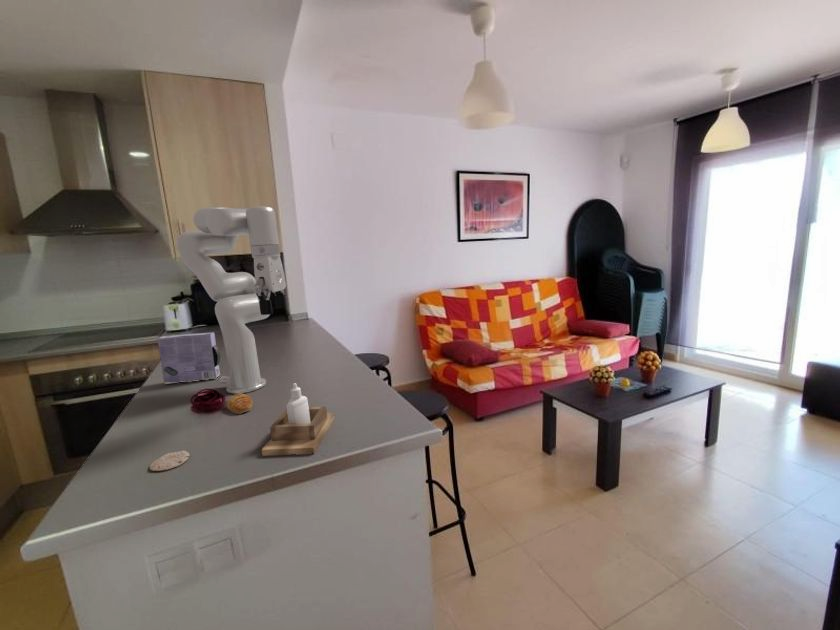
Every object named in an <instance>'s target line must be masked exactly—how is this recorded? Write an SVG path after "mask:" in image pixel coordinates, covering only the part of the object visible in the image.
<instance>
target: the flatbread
mask: <svg viewBox="0 0 840 630" xmlns="http://www.w3.org/2000/svg"><path fill="white" fill-rule="evenodd" d="M189 457H190V453H189V452H188V451H186V450H183V449H182V450H181V451H174V452H169V453H165V454H163V455H162V456H160V457H158V458H157V459H155V460H153V462H151V463H150V465H149V470H150V471H152V472H162V471H163V472H164V471H167V470H171V469H175V468H177V467H179V466H181V465H183V464H184V463H185V462H186V461H187V460H188V459H189Z"/></svg>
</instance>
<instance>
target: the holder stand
mask: <svg viewBox="0 0 840 630" xmlns="http://www.w3.org/2000/svg"><path fill="white" fill-rule="evenodd" d="M309 414H310V421H311V423H306V424H289V421H288V414H287V408H286V409H285V410H284V411H283V412H282V413H281V414H280V416H278V417H277V418H276V420H274V422H273V423H272V425H270V427H269V431H270V436H271V438H270V439H269V441H267V442H266V444H265V445H264V446H263V447H262V449H261V454H262V457H266V456H267V457H268V456H269V457H270V456H290V455H291V454H296V455H313V454H314V453H315V454H316V452H317V450H318V449H319V447H318V446H320V445H321V443H322V441H323V440H324V438H325V436H326V434H327V432H328V430H329V429H330V428H331V426H332V424H333V422H334V420H335V419H336V418H335V417H336V416H335V415H336V414H335V412H328V411H327V406H311V407H310V406H309ZM322 439H323V440H322ZM312 453H313V454H312ZM291 456H292V455H291Z"/></svg>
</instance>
